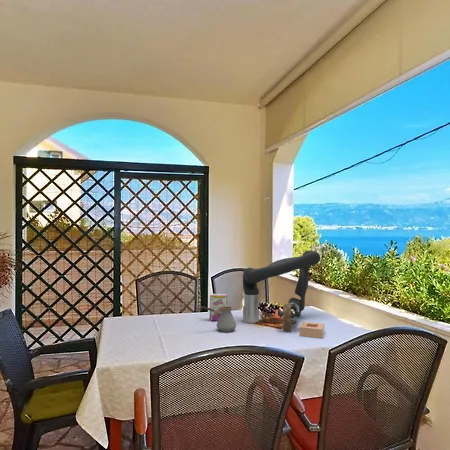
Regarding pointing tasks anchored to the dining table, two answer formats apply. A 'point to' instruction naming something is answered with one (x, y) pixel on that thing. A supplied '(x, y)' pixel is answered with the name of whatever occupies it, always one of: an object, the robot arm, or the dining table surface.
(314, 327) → the socket block
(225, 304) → the candy bar box
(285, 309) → the walnut peg
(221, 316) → the coffee pot
